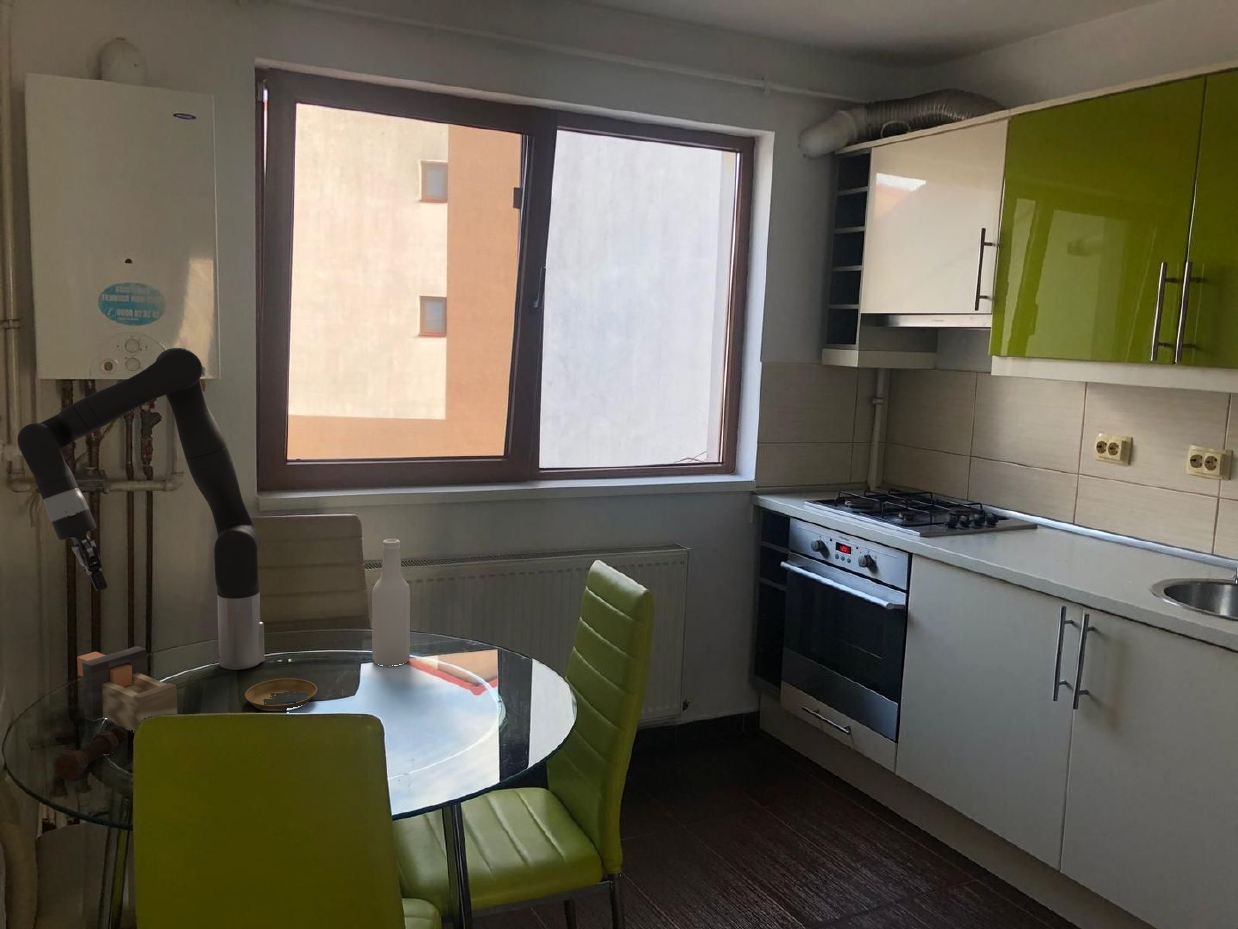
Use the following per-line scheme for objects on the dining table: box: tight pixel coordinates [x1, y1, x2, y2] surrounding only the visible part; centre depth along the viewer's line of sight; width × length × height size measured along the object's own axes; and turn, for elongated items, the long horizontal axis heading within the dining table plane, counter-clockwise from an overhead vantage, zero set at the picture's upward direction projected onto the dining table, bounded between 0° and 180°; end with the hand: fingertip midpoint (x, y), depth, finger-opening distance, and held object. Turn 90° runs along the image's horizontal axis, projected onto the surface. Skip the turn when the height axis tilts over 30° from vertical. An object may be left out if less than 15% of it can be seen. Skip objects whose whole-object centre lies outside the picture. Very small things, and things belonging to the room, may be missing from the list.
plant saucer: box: [244, 678, 318, 713], centre depth 216 cm, size 15×15×3 cm
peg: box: [76, 651, 133, 687], centre depth 209 cm, size 13×4×4 cm, turn 58°
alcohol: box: [371, 538, 411, 666], centre depth 239 cm, size 9×9×30 cm
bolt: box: [53, 727, 127, 781], centre depth 187 cm, size 6×5×15 cm
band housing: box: [82, 645, 178, 734], centre depth 204 cm, size 16×12×12 cm
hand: (102, 589), depth 213 cm, fingers closed
